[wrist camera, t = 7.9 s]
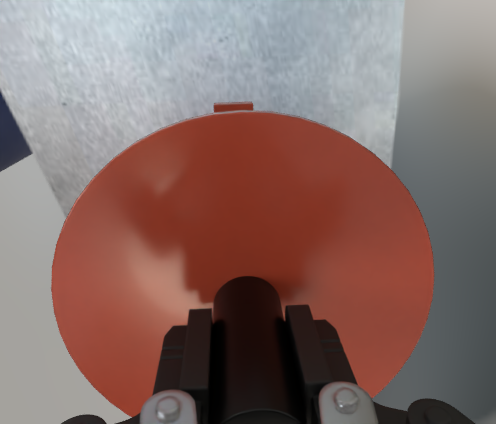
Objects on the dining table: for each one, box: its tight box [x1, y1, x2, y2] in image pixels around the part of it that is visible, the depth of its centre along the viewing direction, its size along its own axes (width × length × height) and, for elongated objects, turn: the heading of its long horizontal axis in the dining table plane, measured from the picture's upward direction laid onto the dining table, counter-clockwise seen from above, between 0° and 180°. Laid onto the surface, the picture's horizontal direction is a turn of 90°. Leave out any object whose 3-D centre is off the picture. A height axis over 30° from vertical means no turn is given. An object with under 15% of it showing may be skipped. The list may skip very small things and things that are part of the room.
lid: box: [51, 110, 434, 424], centre depth 13 cm, size 14×14×7 cm
